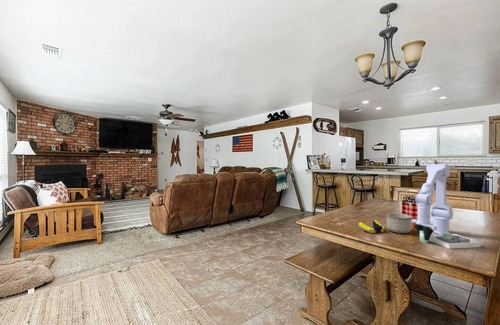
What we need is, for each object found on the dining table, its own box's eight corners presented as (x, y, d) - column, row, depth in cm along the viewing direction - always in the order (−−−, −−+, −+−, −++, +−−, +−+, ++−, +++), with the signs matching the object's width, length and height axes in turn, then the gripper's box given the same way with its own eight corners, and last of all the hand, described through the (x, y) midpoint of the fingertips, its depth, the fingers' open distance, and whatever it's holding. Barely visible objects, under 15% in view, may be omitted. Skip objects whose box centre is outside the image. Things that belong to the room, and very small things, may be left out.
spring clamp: (357, 230, 149) (369, 235, 139) (357, 221, 149) (369, 226, 139) (375, 227, 153) (388, 232, 144) (375, 219, 153) (388, 223, 144)
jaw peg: (417, 240, 129) (417, 230, 129) (423, 240, 129) (424, 229, 129) (423, 243, 125) (423, 232, 125) (429, 242, 125) (429, 232, 125)
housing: (449, 248, 117) (449, 238, 117) (427, 239, 130) (427, 230, 130) (480, 247, 118) (480, 236, 118) (455, 238, 131) (455, 228, 131)
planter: (389, 233, 141) (389, 217, 141) (385, 227, 153) (385, 212, 153) (413, 235, 137) (413, 218, 136) (407, 229, 148) (407, 213, 148)
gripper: (407, 212, 134) (407, 234, 134) (428, 218, 119) (428, 244, 119) (418, 211, 134) (418, 234, 134) (440, 218, 120) (440, 243, 120)
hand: (423, 238), depth 127 cm, fingers closed on jaw peg, 4 cm apart
